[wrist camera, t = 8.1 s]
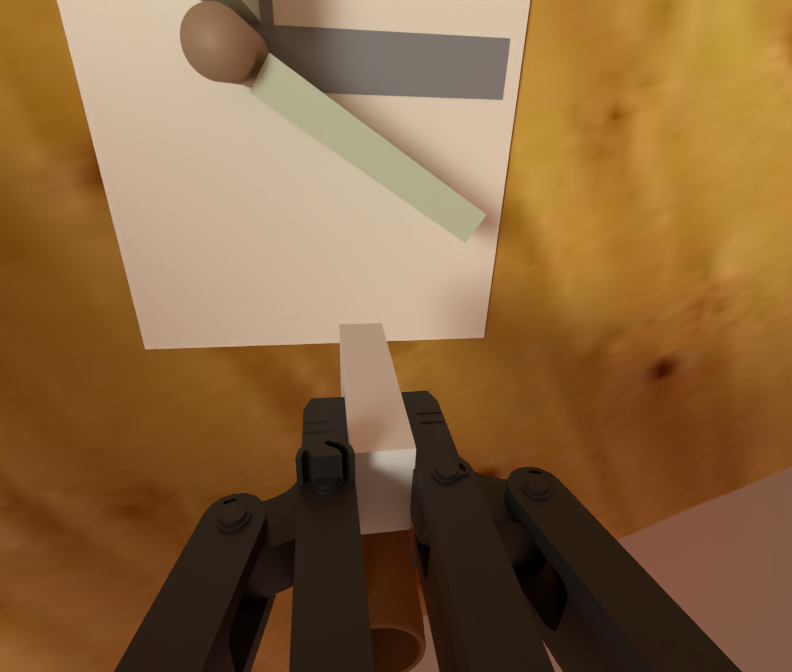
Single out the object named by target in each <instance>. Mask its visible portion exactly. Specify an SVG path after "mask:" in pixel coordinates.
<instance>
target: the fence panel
mask: <svg viewBox="0 0 792 672" xmlns="http://www.w3.org/2000/svg"><path fill="white" fill-rule="evenodd" d="M250 93H251V94H252V95H254V96H255V97H257V98H258V99H260V100H261V101H262V102H264V103H265V104H267V105H268V106H270V107H271V108H272V109H274V110H275V111H277V112H278V113H280V114H281V115H282V116H284V117H285V118H287V119H288V120H290V121H291V122H292V123H294V124H295V125H297V126H298V127H300V128H301V129H302V130H304V131H305V132H307V133H308V134H310V135H311V136H312V137H314V138H315V139H317V140H318V141H320V142H321V143H322V144H324V145H325V146H327V147H328V148H330V149H331V150H332V151H334V152H335V153H337V154H338V155H340V156H341V157H342V158H344V159H345V160H347V161H348V162H350V163H351V164H352V165H354V166H355V167H357V168H358V169H360V170H361V171H362V172H364V173H365V174H367V175H368V176H370V177H371V178H373V179H374V180H375V181H377V182H378V183H380V184H381V185H383V186H384V187H385V188H387V189H388V190H390V191H391V192H393V193H394V194H395V195H397V196H398V197H400V198H401V199H403V200H404V201H405V202H407V203H408V204H410V205H411V206H413V207H414V208H415V209H417V210H418V211H420V212H421V213H423V214H424V215H425V216H427V217H428V218H430V219H431V220H433V221H434V222H435V223H437V224H438V225H440V226H441V227H443V228H444V229H445V230H447V231H448V232H450V233H451V234H453V235H454V236H455V237H457V238H458V239H460V240H461V241H463V242H464V243H466V242H467V240H468V239H469V238H470V236H471V235H472V234H473V232H474V231H475V230H476V228H477V227H478V226H479V224H480V223H481V222H482V220H483V219H484V218H485V216H486V214H485V213H483V212H482V211H481V210H479V209H478V208H477V207H475V206H474V205H473V204H471V203H470V202H469V201H467V200H466V199H465V198H463V197H462V196H461V195H459V194H458V193H457V192H455V191H454V190H453V189H451V188H450V187H449V186H447V185H446V184H445V183H443V182H442V181H441V180H439V179H438V178H437V177H435V176H434V175H433V174H431V173H430V172H429V171H427V170H426V169H425V168H423V167H422V166H421V165H419V164H418V163H416V162H415V161H414V160H412V159H411V158H410V157H408V156H407V155H406V154H404V153H403V152H402V151H400V150H399V149H398V148H396V147H395V146H394V145H392V144H391V143H390V142H388V141H387V140H386V139H384V138H383V137H382V136H380V135H379V134H378V133H376V132H375V131H374V130H372V129H371V128H370V127H368V126H367V125H366V124H364V123H363V122H362V121H360V120H359V119H358V118H356V117H355V116H354V115H352V114H351V113H349V112H348V111H347V110H345V109H344V108H343V107H341V106H340V105H339V104H337V103H336V102H335V101H333V100H332V99H331V98H329V97H328V96H327V95H325V94H324V93H323V92H321V91H320V90H319V89H317V88H316V87H315V86H313V85H312V84H311V83H309V82H308V81H307V80H305V79H304V78H303V77H301V76H300V75H299V74H297V73H296V72H295V71H293V70H292V69H291V68H289V67H288V66H287V65H285V64H284V63H282V62H281V61H280V60H278V59H277V58H276V57H274V56H273V55H272V54H270V53H269V54H268V56H267V58H266V60H265V62H264V64H263V66H262V68H261V70H260V72H259V74H258V76H257V78H256V80H255V82H254V84H253V86H252V88H251V90H250Z"/></svg>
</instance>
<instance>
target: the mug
mask: <svg viewBox="0 0 792 672" xmlns="http://www.w3.org/2000/svg"><path fill="white" fill-rule="evenodd" d="M361 541H362V551H363V561H364V571H365V581H366V591H367V600H368V610H369V620H370V630H371V640H372V650H373V660H374V670H375V672H409V671H410V670H412V669H413V668H414V667H415V666H416V665H417V664H418V663H419V662H420V661H421V659H422V658H423V655H424V652H425V648H426V643H425V635H424V625H423V617H422V611H421V606H420V600H419V595H418V589H417V584H416V579H415V574H414V569H413V568H412V559H411V553H410V548H409V543H408V539H407V537H406V534H405V532H404V530H400V531H390V532H381V533H371V534H362V535H361Z"/></svg>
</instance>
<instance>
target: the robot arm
mask: <svg viewBox="0 0 792 672" xmlns="http://www.w3.org/2000/svg"><path fill="white" fill-rule="evenodd" d="M339 332H340V369H341V395H342V397H333V398H317V399H311V400H310V401H309V403H308V404H307V406H306V407H305V409H304V413H303V436H302V447H301V448H300V449H299V450H298V452H297V455H296V458H295V459H296V470H297V482H296V483H295V484H294V485H293V487H292V488H291V489H289V490H288V491H286V492H285V493H283V494H281V495H279V496H277V497H274V498H272V499H269V500H266V501H263V502H262V501H261V500H260V499H259V498H258V497H256V496H254V495H250V494H247V493H241V494H232V495H229V496H226V497H223V498H221V499H219V500H218V501H216V502H215V503H213V504H212V505H211V506H210V507H209V508H208V509H207V511H206V512H205V513H204V514H203V516H202V518H201V520H200V521H199V523H198V525H197V527H196V528H195V530H194V532H193V534H192V535H191V537H190V539H189V541H188V542H187V544H186V546H185V548H184V550H183V551H182V553H181V555H180V557H179V558H178V560H177V562H176V564H175V565H174V567H173V569H172V571H171V572H170V574H169V576H168V578H167V579H166V581H165V583H164V585H163V586H162V588H161V590H160V592H159V594H158V595H157V597H156V599H155V601H154V602H153V604H152V606H151V608H150V609H149V611H148V613H147V615H146V616H145V618H144V620H143V622H142V623H141V625H140V627H139V629H138V630H137V632H136V634H135V636H134V637H133V639H132V641H131V643H130V645H129V646H128V648H127V650H126V652H125V653H124V655H123V657H122V659H121V660H120V662H119V664H118V666H117V667H116V669H115V671H114V672H251V669H252V666H253V663H254V660H255V657H256V654H257V651H258V648H259V645H260V642H261V639H262V636H263V633H264V630H265V627H266V624H267V621H268V618H269V615H270V612H271V609H272V606H273V603H274V600H275V596H276V594H277V593H279V592H281V591H283V590H286V589H288V588H290V587H292V586H293V603H292V625H291V646H290V668H289V672H375V670H374V660H373V650H372V640H371V630H370V620H369V610H368V600H367V591H366V581H365V571H364V561H363V551H362V541H361V535H362V534H371V533H381V532H390V531H400V530H410V529H411V517H412V522H413V527H414V531H415V535H414V548H413V564H412V568H417V565H418V570H419V575H420V580H421V585H422V589H423V594H424V599H425V604H426V609H427V614H428V618H429V623H430V627H431V633H432V637H433V642H434V647H435V652H436V657H437V661H438V666H439V671H440V672H555V671H554V668H553V666H552V664H551V661H550V659H549V656H548V654H547V651H546V649H545V646H544V644H543V641H544V643H545V645H546V646H547V647H548V649H549V651H550V652H551V654H552V655H553V657H554V658H555V660H556V662H557V663H558V665H559V666H560V667H561V669H562V671H563V672H742V671H740V670H739V668H737V667H736V665H735V664H734V663H733V662H732V661H731V660H730V659H729V658H728V657H727V656H726V655H725V654H724V653H723V652H722V650H721V649H720V648H718V646H716V644H715V643H714V642H713V641H712V640H711V639H710V638H709V637H708V636H707V635H706V634H705V633H704V632H703V631H702V630H701V629H700V627H699V626H698V625H697V624H696V623H695V622H694V621H693V620H692V619H691V618H690V617H689V616H688V615H687V614H686V613H685V612H684V611H683V610H682V609H681V607H680V606H679V605H677V603H676V602H675V601H674V600H673V599H672V598H671V597H670V596H669V595H668V594H667V593H666V592H665V591H664V590H663V589H662V588H661V587H660V585H658V583H657V582H656V581H655V580H654V579H653V578H652V577H651V576H650V575H649V574H648V573H647V572H646V571H645V570H644V569H643V568H642V567H641V566H640V565H639V563H638V562H636V560H635V559H634V558H633V557H632V556H631V555H630V554H629V553H628V552H627V551H626V550H625V549H624V548H623V547H622V546H621V545H620V544H619V542H618V541H617V540H616V539H615V538H614V537H613V536H612V535H611V534H610V533H609V532H608V531H607V530H606V529H605V528H604V527H603V526H602V525H601V524H600V523H599V522H598V520H597V519H596V518H595V517H594V516H593V515H592V514H591V513H590V512H589V511H588V510H587V509H586V508H585V507H584V506H583V505H582V504H581V503H580V502H579V501H578V499H577V498H576V497H575V496H574V495H573V494H572V493H571V492H570V491H569V490H568V489H567V488H566V487H565V486H564V485H563V484H562V483H561V482H560V481H559V480H558V479H557V478H556V477H555V476H553V475H552V474H551V473H549V472H547V471H544V470H542V469H540V468H534V467H523V468H518V469H516V470H514V471H513V472H511V474H510V476H509V477H508V480H506V479H500V478H494V477H489V476H485V475H481V474H479V473H476V472H474V471H473V470H472V468H471V467H470V465H469V464H468V463H467V462H466V461H464V460H463V459H462V458H460V457H459V455H458V453H457V450H456V447H455V445H454V442H453V440H452V437H451V434H450V432H449V429H448V427H447V424H446V423H445V419H444V416H443V414H442V411H441V409H440V406H439V403H438V401H437V400H436V399H435V398H434V397H433V396H432V395H431V394H430V393H429V392H428V391H416V392H401V391H400V388H399V384H398V381H397V377H396V373H395V370H394V366H393V362H392V359H391V355H390V352H389V348H388V344H387V341H386V337H385V334H384V330H383V326H382V323H369V324H342V325H339ZM541 638H542V639H541ZM542 640H543V641H542Z"/></svg>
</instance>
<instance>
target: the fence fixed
mask: <svg viewBox="0 0 792 672" xmlns="http://www.w3.org/2000/svg"><path fill="white" fill-rule="evenodd" d="M200 1H202V2H201V3H198V4H196V5H194V6H193V7H191V8H190V9H189V10H188V11H187V12H186V14H185V16H184V18H183V20H182V23H181V27H180V42H181V47H182V50H183V53H184V55H185V57H186V59H187V60H188V62H189V63H190V65H191V66H192V67H193V68H194V69H195V70H196V71H197V72H198V73H199V74H200V75H202V76H203V77H205V78H207V79H209V80H212V81H216V82H223V83H231V84H239V85H248V86H253V84H254V82H255V80H256V78H257V76H258V74H259V72H260V70H261V68H262V66H263V64H264V62H265V60H266V58H267V56H268V54H269V53H270V54H271V50H270V48H269V46H268V44H267V42H266V41H265V39H264V38H263V37H262V36H261V35H260V34H259V33H257V32H256V31H255V30H254V29H253V28H252V27H251V26H250V25H249V24H248V23H247V22H245V21H258V22H261V17H260V6H259V0H200Z"/></svg>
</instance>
